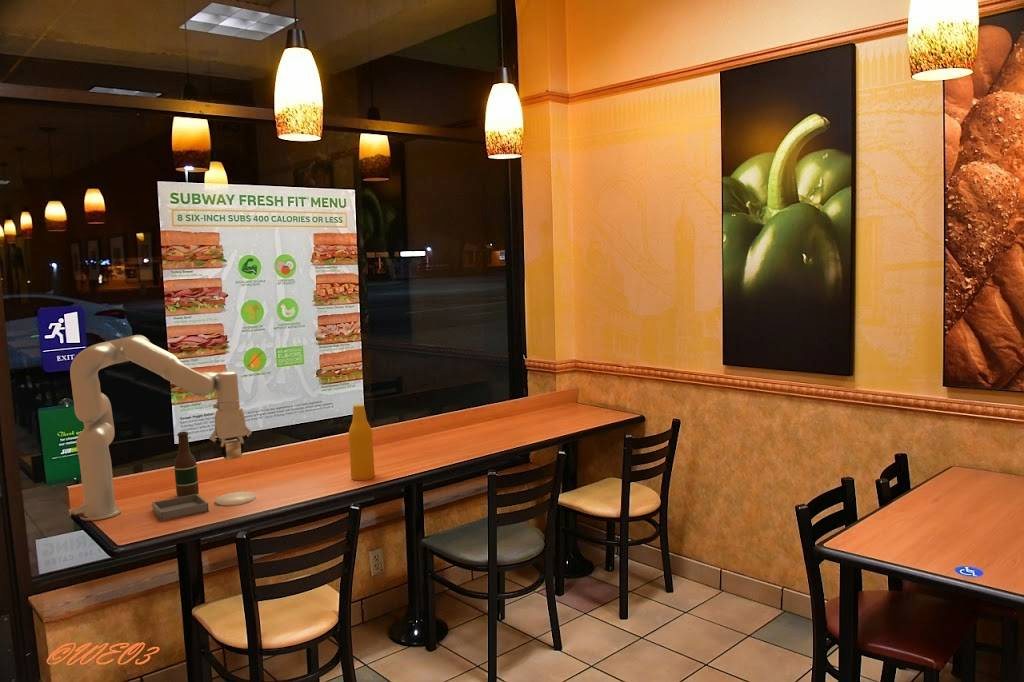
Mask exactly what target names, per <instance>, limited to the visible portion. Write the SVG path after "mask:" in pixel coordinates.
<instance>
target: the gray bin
mask: <svg viewBox="0 0 1024 682" xmlns="http://www.w3.org/2000/svg"><path fill="white" fill-rule="evenodd" d="M151 506H152V508H151V509H152V511H153V513H154V514H155V515H156V516H157V517H158V519H159V520H160V521H161V522H163V521H164V522H165V521H170V520H174V519H179V518H180V519H181V518H184V517H189V516H193V515H199V514H204V513H208V512H209V502H207V501H206V500H205V499H204V498H202V497H201V496H200V495H199V493H198V494H193V495H188V496H183V497H178V496H177V497H173V498H168V499H167V498H166V499H164V500H159V501H153V502H151Z"/></svg>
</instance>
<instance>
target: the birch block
mask: <svg viewBox="0 0 1024 682" xmlns="http://www.w3.org/2000/svg"><path fill="white" fill-rule="evenodd" d="M224 445H225V447H226V457H225V458H224V459H225V460H226V461H230V460H235V459H241V458H242V455H241V443H240V441H239V440H238V439H237V438H235V439H229V440H225V444H224Z"/></svg>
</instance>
